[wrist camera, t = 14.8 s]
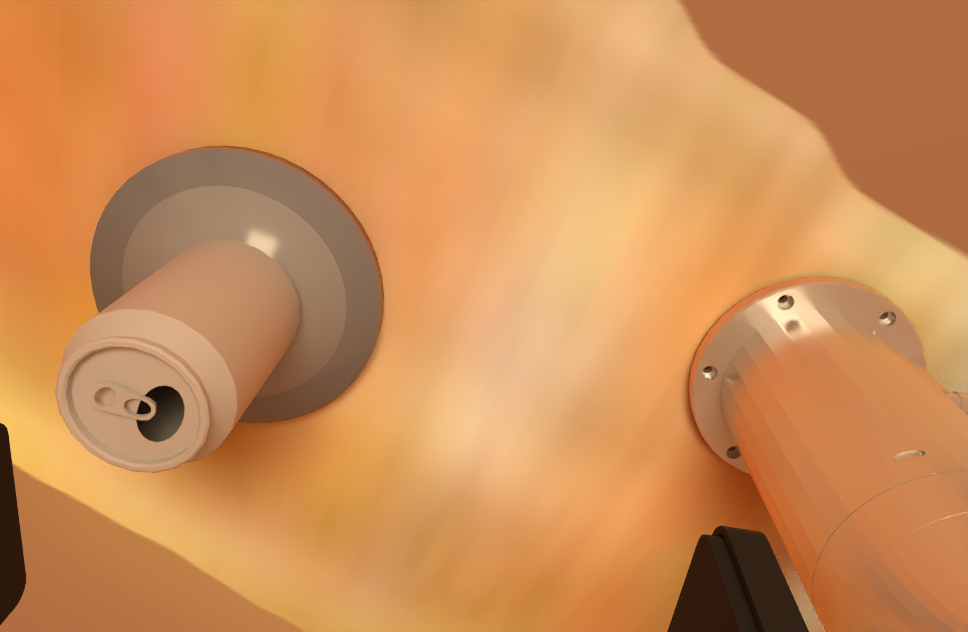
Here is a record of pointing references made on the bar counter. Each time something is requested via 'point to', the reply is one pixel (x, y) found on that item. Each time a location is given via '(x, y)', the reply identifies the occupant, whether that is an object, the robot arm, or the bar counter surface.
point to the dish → (275, 231)
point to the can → (178, 357)
